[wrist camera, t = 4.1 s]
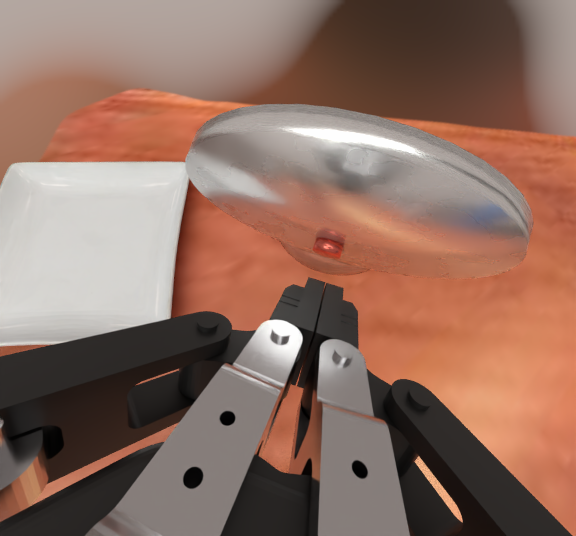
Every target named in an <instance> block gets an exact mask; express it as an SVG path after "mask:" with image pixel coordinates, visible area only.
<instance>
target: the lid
mask: <svg viewBox="0 0 576 536" xmlns="http://www.w3.org/2000/svg"><path fill="white" fill-rule="evenodd" d="M185 168H186V171H187V174H188V176H189V178H190V180H191V181H192V183H193V184H194V186H195V187H196V188H197V189H198V190H199V191H200V192H201V193H202V194H203V195H204V196H205V197H206V198H207V199H208V200H209V201H211V202H212V203H213V204H214V205H216V206H217V207H218V208H220V209H221V210H223V211H224V212H225V213H227V214H229V215H230V216H232V217H233V218H235V219H237V220H238V221H240V222H242V223H244V224H246V225H247V226H249V227H251V228H253V229H255V230H257V231H259V232H261V233H263V234H265V235H268V236H270V237H272V238H274V239H277V240H279V241H281V242H284V243H286V244H289V245H291V246H294V247H296V248H298V249H300V250H303V251H306V252H309V253H312V254H316V255H319V256H322V257H325V258H328V259H332V260H335V261H338V262H341V263H344V264H348V265H354V266H358V267H362V268H367V269H371V270H376V271H381V272H387V273H392V274H398V275H405V276H413V277H422V278H434V279H473V278H482V277H488V276H493V275H498V274H501V273H504V272H506V271H509V270H511V269H513V268H514V267H516V266H518V265H519V264H520V263H521V262H522V260H523V259H524V258H525V256H526V252H527V248H528V244H529V240H530V236H531V232H532V228H533V217H532V211H531V208H530V207H529V205H528V203H527V201H526V199H525V198H524V196H523V194H522V193H521V192H520V191H519V190H518V189H517V188H516V187H515V186H514V185H513V184H512V183H511V181H510V180H509V179H508V178H507V177H505V176H504V175H503V174H501V173H500V172H499V171H497V170H496V169H495V168H493V167H492V166H491V165H489V164H488V163H486V162H485V161H484V160H482V159H480V158H479V157H477V156H475V155H473V154H471V153H469V152H468V151H466V150H464V149H462V148H460V147H459V146H457V145H455V144H453V143H451V142H449V141H446V140H444V139H441V138H439V137H436V136H434V135H432V134H429V133H427V132H424V131H422V130H419V129H417V128H414V127H411V126H408V125H404V124H401V123H398V122H394V121H391V120H388V119H384V118H381V117H378V116H374V115H369V114H364V113H359V112H354V111H349V110H344V109H339V108H332V107H323V106H313V105H303V104H265V105H257V106H250V107H242V108H238V109H235V110H231V111H228V112H225V113H222V114H219V115H218V116H216V117H214V118H212V119H210V120H209V121H207V122H206V123H205V124H204V125H203V126H202V127H201V128H200V129H199V130H198V131H197V133H196V135H195V137H194V139H193V142H192V144H191V147H190V149H189V152H188V155H187V157H186V164H185Z"/></svg>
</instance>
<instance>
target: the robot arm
mask: <svg viewBox="0 0 576 536" xmlns="http://www.w3.org/2000/svg"><path fill="white" fill-rule="evenodd" d="M324 285H325V282H322V281H319V280H316V279H313V278H310V277H309V278H308V280H307V283H306V286H305V288H303V287H300V286H297V285H294V284H293V285H291V286H289V287H287V288H285V290H284V292H283V294H282V296H281V298H280V300H279V302H278V304H277V306H276V308H275V310H274V312H273V314H272V316H271V318H270V320H269V321H266V322H264V323H262V324H261V325H260V326H259V328H258V329H257V330H254V331H239V330H232V325H231V323H230V321H229V320H228V319H227V318H226V317H225V316H223V315H221V314H218V313H215V312H207V311H205V312H197V313H193V314H188V315H184V316H179V317H175V318H170V319H166V320H161V321H157V322H153V323H148V324H144V325H139V326H135V327H130V328H126V329H121V330H117V331H112V332H108V333H104V334H99V335H95V336H90V337H86V338H81V339H77V340H72V341H68V342H63V343H59V344H54V345H50V346H46V347H41V348H37V349H32V350H28V351H23V352H19V353H14V354H10V355H5V356H1V357H0V536H572V535H571V534H570V533H569V532H568V531H567V530H566V529H565V528H564V527H563V526H562V525H561V524H560V523H559V522H558V521H557V520H556V519H555V517H554V516H553V515H552V514H551V513H550V512H549V511H548V510H547V509H546V508H545V507H544V506H543V505H542V504H541V503H540V502H539V501H538V500H537V499H536V498H535V497H534V496H533V495H532V494H531V493H530V492H529V491H528V490H527V489H526V488H525V487H524V486H523V485H522V484H521V483H520V482H519V481H518V480H517V479H516V478H515V477H514V476H513V475H512V474H511V473H510V472H509V471H508V470H507V469H506V468H505V467H504V466H503V464H502V463H501V462H500V461H499V460H498V459H497V458H496V457H495V456H494V455H493V454H492V453H491V452H490V451H489V450H488V449H487V448H486V447H485V446H484V445H483V444H482V443H481V442H480V441H479V440H478V439H477V438H476V437H475V436H474V435H473V434H472V433H471V432H470V431H469V430H468V429H467V428H466V427H465V426H464V425H463V424H462V423H461V422H460V421H459V420H458V419H457V418H456V417H455V416H454V415H453V414H452V413H451V412H450V410H449V409H448V408H447V407H446V406H445V405H444V404H443V403H442V402H441V401H440V400H439V399H438V398H437V397H436V396H435V395H434V394H433V393H432V392H431V391H429V390H428V389H427V388H425V387H424V386H422V385H420V384H419V383H416V382H414V381H411V380H407V379H400V380H397V381H395V382H394V383H393V384H392V386H391V385H389V384H388V383H386V382H384V381H383V380H381V379H379V378H378V377H376V376H375V375H373V374H372V373H371V372H370V371H369V370H368V369H367V368H366V362H365V359H364V357H363V355H362V354H361V352H360V351H359V350H358V311H357V310H356V308H355V306H354V305H353V303H350V302H347V301H344V300H343V288H341V287H338V286H335V285H332V284H329V283H326V285H325V288H324ZM323 290H324V291H323ZM301 368H302V369H301ZM176 369H179V371H176V372H173V373H170V374H167V375H165V376H162V377H159V378H156V379H153V380H150V381H147V382H145V383H142V384H139V385H136V384H138V383H139V382H141V381H144V380H147V379H150V378H153V377H155V376H158V375H161V374H164V373H167V372H170V371H173V370H176ZM300 370H301V373H300ZM299 373H300V377H299V381H298V385H297V386H298V387H301V388H304V390H303V395H302V398H301V401H300V403H299V406H298V410H297V417H296V424H295V432H294V439H293V447H292V454H291V461H290V468H289V473H283V472H280V471H278V470H277V469H275V468H274V467H273V466H271V465H270V464H269V463H267V462H266V461H265V460H263V459H262V458H261V456H262V454H263V451H264V449H265V446H266V444H267V441H268V438H269V436H270V433H271V431H272V428H273V426H274V423H275V420H276V418H277V415H278V413H279V410H280V408H281V405H282V402H283V399H284V398H285V397H286V396H287V393H288V391H289V388H290V385H291V384H292V385H296V382H297V379H298V376H299ZM135 385H136V386H135ZM178 422H179V424H178V425H177V426H176V428H175V429H174V430H173V432H172V433H171V434H170V436H169V437H168V438H167V440H166V441H165V442H161V443H157V444H154V445H150V446H148V447H145V448H143V449H140V450H138V451H136V452H134V453H132V454H130V455H128V456H126V457H124V458H122V459H120V460H118V461H116V462H114V463H112V464H110V465H109V466H107V467H105V468H103V469H101V470H99V471H97V472H95V473H93V474H91V475H89V476H87V477H86V478H84V479H82V480H80V481H78V482H76V483H74V484H72V485H70V486H68V487H66V488H64V489H63V490H61V491H59V492H57V493H55V494H53V495H51V496H49V497H47V498H45V499H43V500H41V501H40V502H38V503H36V504H34V505H32V504H33V503H34V502H35V501H36V500H37V498H38V497H39V496H40V494H41V493H42V491H43V490H44V488H45V486H46V484H48V483H50V482H52V481H54V480H56V479H59V478H61V477H63V476H65V475H67V474H69V473H71V472H73V471H76V470H78V469H80V468H82V467H84V466H86V465H88V464H91V463H93V462H95V461H97V460H99V459H101V458H103V457H105V456H108V455H110V454H112V453H114V452H116V451H118V450H120V449H123V448H125V447H127V446H129V445H131V444H133V443H135V442H137V441H140V440H142V439H144V438H146V437H148V436H150V435H152V434H155V433H157V432H159V431H161V430H163V429H165V428H167V427H169V426H172V425H174V424H176V423H178ZM418 456H420V458H421V459H422V460H423V462H424V463H425V464H426V466H427V467H428V468H429V469H430V471H431V472H432V473H433V475H434V476H435V477H436V478H437V480H438V481H439V482H440V484H441V485H442V486H443V488H444V489H445V490H446V491H447V493H448V494H449V495H450V497H451V498H452V499H453V501H454V502H455V503H456V505H457V507H458V508H459V510H460V513H461V515H462V519H463V523H462V522H461V521H459V520H458V519H457V518H456V517H455V516H454V514H453V513H452V512H451V510H450V509H449V508H448V506H447V505H446V504H445V502H444V501H443V500H442V498H441V497H440V496H439V494H438V493H437V492H436V490H435V489H434V488H433V486H432V485H431V484H430V482H429V481H428V480H427V478H426V477H425V475H424V474H423V473H422V471H421V470H420V469H419V467H418V466H417V465H416V463H415V462H414V461H415V460H416V459H417V457H418ZM31 505H32V506H31Z"/></svg>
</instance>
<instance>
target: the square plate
mask: <svg viewBox="0 0 576 536" xmlns="http://www.w3.org/2000/svg"><path fill="white" fill-rule="evenodd" d="M185 164H186V162H25V163H13V164H12V165H10V167H9V168H8V170H7V172H6V174H5V177H4V179H3V181H2V183H1V186H0V346H15V345H51V344H59V343H63V342H68V341H72V340H77V339H81V338H86V337H90V336H95V335H99V334H104V333H108V332H112V331H117V330H121V329H126V328H130V327H135V326H139V325H144V324H148V323H153V322H157V321H161V320H166V319H170V318H171V308H172V295H173V283H174V273H175V262H176V253H177V245H178V239H179V233H180V227H181V221H182V216H183V210H184V205H185V200H186V195H187V189H188V184H189V179H190V178H189V176H188V174H187V171H186V168H185Z"/></svg>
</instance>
